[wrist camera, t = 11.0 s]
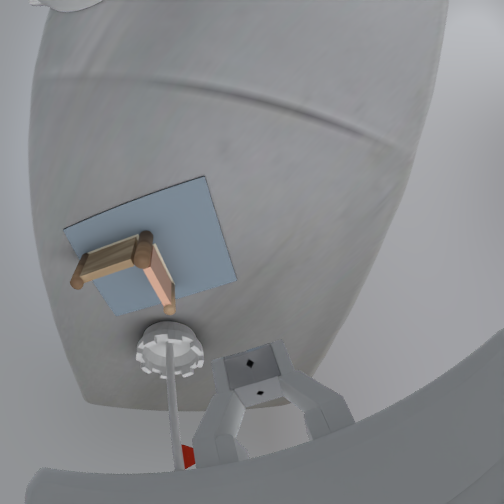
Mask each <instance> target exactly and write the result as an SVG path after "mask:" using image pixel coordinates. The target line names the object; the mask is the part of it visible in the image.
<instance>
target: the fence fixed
mask: <svg viewBox="0 0 504 504" xmlns="http://www.w3.org/2000/svg"><path fill="white" fill-rule="evenodd" d="M152 244H153V234H152V233H151V232H150V231H143V232H141V233H140V235H139V239H138V240H137V238H136V237H134V238H132V239H129V240H126V241H123V242H120V243H118V244H115V245H112V246H109V247H107V248H104V249H101V250H99V251H96V252H94V253H91V254H88V253H85V254H83V255H82V257H81V259H80V261H79V263H78V265H77V267H76V270H75V272H74V274H73V276H72V279H71V281H70V284H71V286H72V287H73V288H74V289H77V290H79V289H81V288H82V286H83V284H84V283H86V282H88V281H91V280H94V279H97V278H100V277H103V276H106V275H109V274H112V273H115V272H118V271H121V270H124V269H127V268H130V267H133V266H134V264H135V266H136V267H138V268H140V269H144V268H147V267H148V266H149V264H150V258H151V251H152Z"/></svg>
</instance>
